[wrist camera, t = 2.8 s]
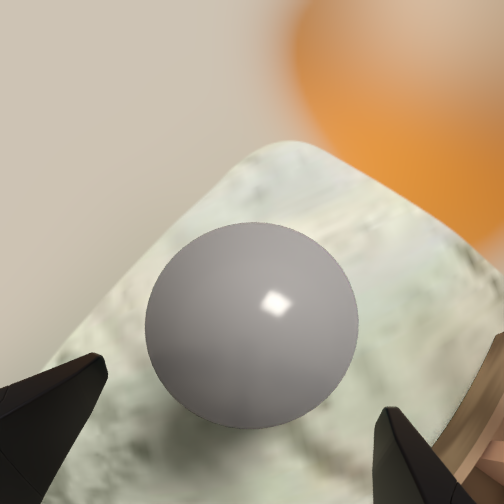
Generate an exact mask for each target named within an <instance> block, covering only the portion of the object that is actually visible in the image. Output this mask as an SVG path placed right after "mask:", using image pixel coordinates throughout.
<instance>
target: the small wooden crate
mask: <svg viewBox="0 0 504 504" xmlns="http://www.w3.org/2000/svg"><path fill="white" fill-rule="evenodd" d="M491 440H495V441H504V332H502V333H500V334H497V335H496V336H495V339H494V341H493V343H492V345H491V348H490V350H489V352H488V354H487V356H486V358H485V360H484V362H483V364H482V366H481V368H480V370H479V372H478V374H477V376H476V378H475V380H474V382H473V384H472V385H471V387H470V389H469V391H468V393H467V394H466V396H465V398H464V399H463V401H462V403H461V405H460V406H459V408H458V409H457V411H456V413H455V414H454V416H453V417H452V419H451V421H450V422H449V424H448V425H447V427H446V428H445V430H444V431H443V433H442V434H441V435H440V437H439V438H438V440H437V441H436V443H435V444H434V445H433V447H432V449H433V451H434V452H435V453H436V454H437V456H438V457H439V458H440V459H441V461H442V462H443V463H444V464H445V466H446V467H447V468H448V469H449V471H450V472H451V473H452V474H453V476H454V477H455V478H456V479H457V482H459V483H460V484H461V485H462V487H463V488H464V489H465V490H466V492H467V493H468V494H469V495H470V496H471V497H472V499H473V500H474V501H475V502H476V503H477V504H504V486H502V485H501V484H499V483H498V482H497V481H495V480H494V479H492V478H491V477H490V476H488V475H487V474H485V473H484V472H483V471H481V470H480V469H479V468H477V467H476V466H475V464H476V463H477V461H478V460H479V458H480V457H481V455H482V454H483V452H484V451H485V449H486V447H487V446H488V444H489V442H490V441H491Z"/></svg>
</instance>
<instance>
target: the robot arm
mask: <svg viewBox="0 0 504 504" xmlns="http://www.w3.org/2000/svg"><path fill="white" fill-rule="evenodd" d="M107 379H108V371H107V368H106V364H105V360H104V358H103V356H102V355H99V354H96V353H93V352H92V353H89V354H86V355H84V356H82V357H79V358H77V359H74V360H72V361H69V362H67V363H64V364H62V365H59V366H57V367H54V368H52V369H49V370H47V371H44V372H42V373H39V374H37V375H34V376H32V377H29V378H27V379H24V380H22V381H19V382H16V383H14V384H11V385H10V386H6V387H3V388H0V504H41V502H42V500H43V497H44V496H45V494H46V492H47V490H48V488H49V486H50V485H51V483H52V481H53V479H54V477H55V475H56V474H57V472H58V470H59V468H60V466H61V465H62V463H63V461H64V459H65V458H66V456H67V454H68V452H69V451H70V449H71V447H72V445H73V444H74V442H75V440H76V439H77V437H78V435H79V433H80V432H81V430H82V428H83V427H84V425H85V423H86V422H87V420H88V418H89V417H90V415H91V413H92V411H93V409H94V407H95V405H96V403H97V400H98V398H99V396H100V394H101V392H102V390H103V387H104V385H105V383H106V381H107ZM372 478H373V504H477V503H476V502H475V501H474V500H473V499H472V497H471V496H470V495H469V494H468V493H467V492H466V490H465V489H464V488H463V487H462V485H461V484H460V483H459V482H457V479H456V478H455V477H454V476H453V474H452V473H451V472H450V471H449V469H448V468H447V467H446V466H445V464H444V463H443V462H442V461H441V459H440V458H439V457H438V456H437V454H436V453H435V452H434V451H433V449H432V448H431V447H430V446H429V445H428V443H427V442H426V441H425V440H424V438H423V437H422V436H421V435H420V433H419V432H418V431H417V430H416V429H415V427H414V426H413V425H412V424H411V422H410V421H409V420H408V419H407V418H406V416H405V415H404V414H403V413H402V411H401V410H400V409H399V408H398V407H385V408H384V409H383V410H382V412H381V414H380V416H379V418H378V420H377V422H376V424H375V429H374V450H373V467H372Z"/></svg>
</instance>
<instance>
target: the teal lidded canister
mask: <svg viewBox="0 0 504 504" xmlns="http://www.w3.org/2000/svg"><path fill="white" fill-rule="evenodd" d="M358 323H359V319H358V310H357V304H356V300H355V296H354V292H353V290H352V287H351V285H350V282H349V280H348V278H347V276H346V275H345V273H344V271H343V269H342V268H341V267H340V265H339V264H338V263H337V261H336V260H335V259H334V258H333V257H332V255H331V254H330V253H329V252H328V251H327V250H326V249H324V248H323V247H322V246H321V245H319V244H318V243H317V242H315V241H314V240H312V239H311V238H309V237H307V236H306V235H304V234H302V233H300V232H297V231H295V230H293V229H290V228H287V227H283V226H280V225H275V224H269V223H257V222H251V223H239V224H233V225H228V226H224V227H221V228H218V229H215V230H213V231H210V232H208V233H205V234H204V235H202V236H200V237H198V238H196V239H195V240H193V241H192V242H190V243H189V244H188V245H186V246H185V247H183V248H182V249H181V250H180V251H179V252H178V253H177V254H176V255H175V256H174V257H173V258H172V259H171V260H170V262H169V263H168V264H167V265H166V266H165V268H164V269H163V271H162V272H161V274H160V275H159V277H158V279H157V281H156V283H155V285H154V287H153V289H152V292H151V295H150V298H149V301H148V306H147V310H146V319H145V338H146V344H147V350H148V354H149V357H150V360H151V363H152V366H153V368H154V370H155V372H156V374H157V376H158V378H159V379H160V381H161V382H162V384H163V385H164V387H165V388H166V389H167V391H168V392H169V393H170V394H171V395H172V396H173V397H174V398H175V399H176V400H177V401H178V402H179V403H180V404H182V405H183V406H184V407H185V408H186V409H188V410H189V411H191V412H193V413H194V414H196V415H197V416H199V417H201V418H203V419H206V420H208V421H210V422H212V423H216V424H219V425H223V426H226V427H232V428H239V429H260V428H268V427H274V426H277V425H281V424H284V423H288V422H290V421H292V420H294V419H297V418H299V417H301V416H303V415H305V414H306V413H308V412H309V411H311V410H313V409H314V408H316V407H317V406H318V405H319V404H320V403H322V402H323V401H324V400H325V399H326V398H327V397H328V396H329V395H330V394H331V393H332V392H333V391H334V389H335V388H336V387H337V386H338V384H339V383H340V381H341V380H342V378H343V377H344V375H345V374H346V371H347V369H348V367H349V365H350V363H351V361H352V358H353V355H354V352H355V348H356V344H357V338H358Z"/></svg>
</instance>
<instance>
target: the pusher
mask: <svg viewBox="0 0 504 504" xmlns="http://www.w3.org/2000/svg"><path fill="white" fill-rule="evenodd" d="M475 466H476V467H477V468H479V469H480V470H481V471H483V472H484V473H485V474H487V475H488V476H490V477H491V478H492V479H494V480H495V481H497V482H498V483H499V484H501V485H502V486H504V441H495V440H491V441H490V442H489V444H488V446H487V447H486V449H485V451H484V452H483V454H482V455H481V457H480V458H479V460H478V461H477V463H476V464H475Z"/></svg>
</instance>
